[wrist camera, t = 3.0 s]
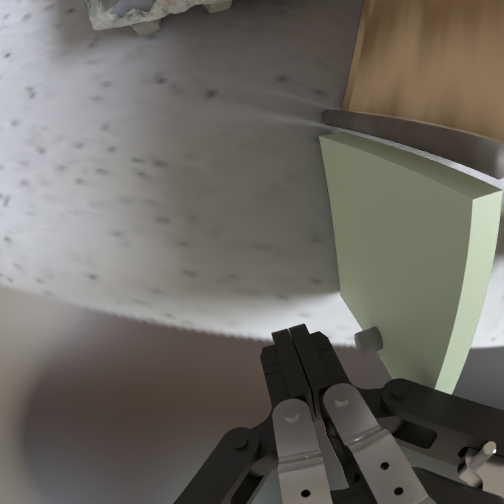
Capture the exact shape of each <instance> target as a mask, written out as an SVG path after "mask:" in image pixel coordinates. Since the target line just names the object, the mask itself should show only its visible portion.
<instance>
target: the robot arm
mask: <svg viewBox="0 0 504 504" xmlns="http://www.w3.org/2000/svg"><path fill="white" fill-rule="evenodd" d="M288 329H289V331H288ZM288 329H284V330H280V331H277V332H273V333H271V334H272V338H273V342H274V345H271V346H267V347H264V348H263V349H262V353H261V356H260V359H261V363H262V367H263V371H264V375H265V379H266V383H267V387H268V391H269V395H270V399H271V404H272V409H271V413H270V415H269V416H268V418H267V419H266V420H265V421H264V422H263V423H261V424H259V425H257V426H256V427H254V428H252V429H249V428H243V427H239V428H234V429H232V430H230V431H228V432H227V433H226V434H225V435H224V436H223V438H222V439H221V441H220V442H219V444H218V445H217V446H216V448H215V449H214V451H213V452H212V453H211V455H210V456H209V458H208V459H207V460H206V462H205V463H204V464H203V466H202V467H201V468H200V470H199V471H198V472H197V474H196V475H195V476H194V478H193V479H192V480H191V482H190V483H189V484H188V486H187V487H186V488H185V489H184V491H183V492H182V493H181V495H180V496H179V497H178V498H177V500H176V501H175V502H174V503H173V504H251V503H252V501H253V500H254V498H255V497H256V495H257V494H258V492H259V491H260V489H261V487H262V485H263V484H264V482H265V481H266V479H267V478H268V476H269V474H270V472H271V471H272V470H274V469H276V468H277V467H278V471H279V478H280V485H281V492H282V499H283V504H504V410H500V409H496V408H493V407H490V406H486V405H483V404H480V403H476V402H473V401H470V400H467V399H463V398H460V397H457V396H454V395H451V394H448V393H445V392H442V391H439V390H436V389H433V388H430V387H427V386H424V385H421V384H418V383H416V382H413V381H410V380H407V379H403V378H397V379H393V380H391V381H389V382H387V383H386V384H385V386H384V387H383V388H380V389H360V388H357V387H356V386H354V385H353V384H352V383H351V382H350V381H349V379H348V377H347V375H346V373H345V371H344V370H343V367H342V365H341V363H340V361H339V359H338V357H337V355H336V353H335V351H334V349H333V348H332V345H331V343H330V341H329V339H328V337H326V336H325V335H324V334H322V333H321V332H320V331H318V332H315V333H312V334H309V332H308V329H307V327H306V325H305V324H301V325H297V326H294V327H291V328H288ZM314 415H315V416H314ZM315 417H316V420H317V421H319V420H323V422H324V425H325V428H326V435H327V437H328V439H329V441H330V444H331V445H332V448H333V450H334V452H335V454H336V456H337V458H338V460H339V463H340V464H341V467H342V469H343V472H344V476H345V479H346V481H347V484H348V486H349V488H347V489H344V490H334V491H330V490H329V486H328V481H327V477H326V473H325V468H324V464H323V460H322V457H321V454H320V450H319V446H318V442H317V438H316V434H315V428H314V422H315ZM397 444H399V445H401V446H404V447H406V448H409V449H412V450H414V451H417V452H420V453H422V454H425V455H428V456H430V457H433V458H436V459H439V460H442V461H445V462H447V463H450V464H454V465H456V466H457V473H458V475H459V477H460V478H461V479H462V480H464V481H466V482H467V483H469V484H470V486H468V485H465V484H462V483H460V482H457V481H454V480H451V479H449V478H446V477H443V476H441V475H438V474H436V473H433V472H431V471H428V470H425V469H423V468H419V467H411V466H410V464H409V463H408V461H407V459H406V458H405V456H404V454H403V453H402V451H401V449H400V448H399V446H398V445H397Z"/></svg>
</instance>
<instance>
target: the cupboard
mask: <svg viewBox="0 0 504 504" xmlns="http://www.w3.org/2000/svg"><path fill="white" fill-rule="evenodd" d="M342 110H345V111H338V110H325V111H324V112H323V113H322V121H323V122H324V123H325V124H326V125H330V126H335V127H339V128H343V129H348V130H352V131H356V132H360V133H364V134H368V135H372V136H375V137H379V138H383V139H386V140H390V141H393V142H397V143H400V144H403V145H407V146H410V147H413V148H416V149H419V150H422V151H426V152H429V153H431V154H434V155H437V156H440V157H443V158H446V159H449V160H451V161H454V162H457V163H459V164H462V165H464V166H467V167H470V168H472V169H475V170H477V171H479V172H482V173H484V174H487V175H489V176H491V177H494V178H496V179H502V178H503V177H504V0H363V6H362V12H361V17H360V23H359V28H358V33H357V39H356V44H355V49H354V54H353V59H352V64H351V68H350V73H349V78H348V83H347V87H346V92H345V96H344V101H343V105H342ZM347 111H348V112H347Z"/></svg>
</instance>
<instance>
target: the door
mask: <svg viewBox="0 0 504 504" xmlns="http://www.w3.org/2000/svg"><path fill="white" fill-rule="evenodd" d="M319 140H320V146H321V151H322V157H323V162H324V168H325V174H326V181H327V187H328V193H329V200H330V207H331V214H332V222H333V229H334V237H335V246H336V254H337V263H338V273H339V284H340V295H341V297H342V299H343V300H344V302H345V303H346V305H347V306H348V308H349V309H350V311H351V312H352V314H353V316H354V317H355V319H356V320H357V322H358V323H359V325H360V326H361V328H362V330H363V331H361V332H358V333H356V334H355V343H356V347H357V349H358V352H359V353H360V355H361V356H362V357H364V356H366V355H369V354H372V353H374V352H377V354H378V355H379V357H380V358H381V360H382V362H383V363H384V365H385V367H386V368H387V370H388V371H389V373H390V375H391V376H392V378H393V379H397V378H403V379H407V380H410V381H413V382H416V383H418V384H421V385H424V386H427V387H430V388H433V389H436V390H439V391H442V392H445V393H448V394H452V392H453V390H454V388H455V385H456V383H457V380H458V378H459V376H460V373H461V371H462V368H463V366H464V363H465V360H466V358H467V355H468V352H469V349H470V346H471V344H472V341H473V338H474V334H475V331H476V328H477V325H478V322H479V318H480V315H481V311H482V308H483V304H484V300H485V296H486V292H487V288H488V284H489V280H490V275H491V270H492V265H493V260H494V255H495V249H496V243H497V237H498V230H499V222H500V213H501V203H502V191H503V190H501V189H499V188H497V187H495V186H493V185H491V184H488V183H486V182H484V181H482V180H480V179H477V178H475V177H473V176H470V175H468V174H466V173H463V172H461V171H458V170H456V169H453V168H451V167H448V166H446V165H443V164H441V163H438V162H435V161H433V160H430V159H427V158H425V157H422V156H419V155H416V154H413V153H410V152H407V151H404V150H401V149H398V148H395V147H392V146H389V145H386V144H382V143H379V142H376V141H372V140H369V139H366V138H362V137H358V136H355V135H351V134H347V133H344V132H337V133H331V134H326V135H321V136H319Z"/></svg>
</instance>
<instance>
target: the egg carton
mask: <svg viewBox="0 0 504 504" xmlns="http://www.w3.org/2000/svg"><path fill="white" fill-rule="evenodd" d="M118 1H119V0H85V3H86V5H87V8H88V15H89V19H90V22H91V24H92V27H93V29H94V30H104V29H110V28H117V27H122V26H130V27H132V28H133V29H134V30H135V31H136V32H137V34H138V35H139V36H144V35H147V34H150V33H152V32H155V31H157V30H159V28H160V20H161V18H163V17H165V16H167V15H168V14H170V13H174V14H179V13H182V12H185V11H186V10H188V9H189V8H190V7H192V6H194V5H197V4H202V5H203V6H204V7H206V9H207V10H208V12H209V13H214V12H218V11H222V10H226V9H229V8H231V5H232V1H233V0H154V1H153V5H152V7H151V9H150V10H149V11H148V12H143V11H142V10H140V9H135V8H132V9H130V10H128V11H126V12H125V14H124V16H123V17H121V16H119V15H116V14H111V12H112V11H113V7H114V6H115V5H116V4H117V2H118Z"/></svg>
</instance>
